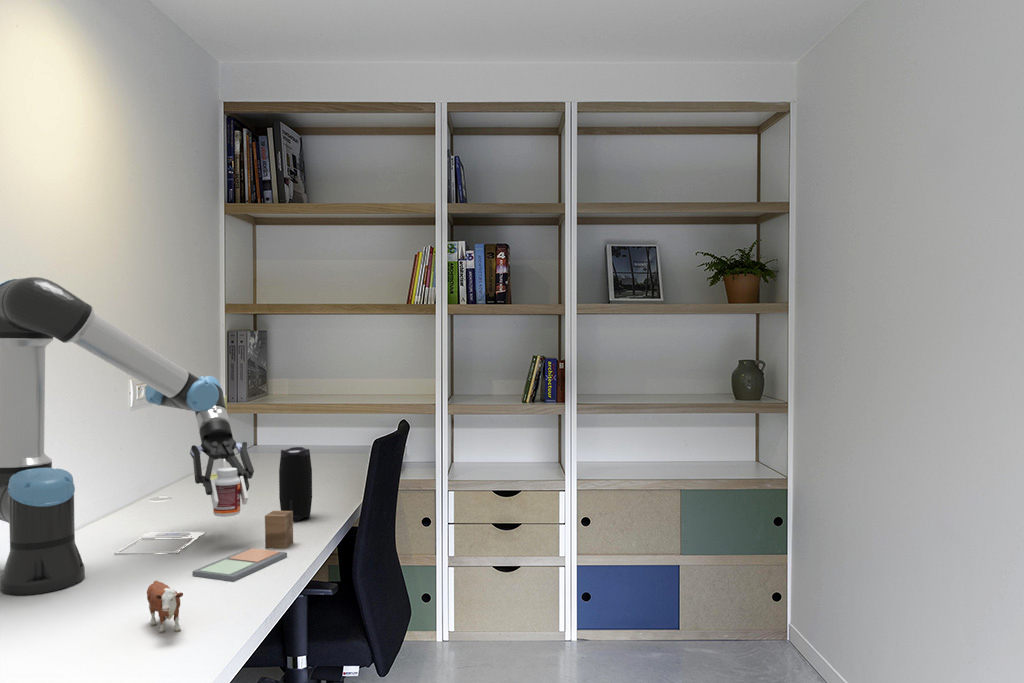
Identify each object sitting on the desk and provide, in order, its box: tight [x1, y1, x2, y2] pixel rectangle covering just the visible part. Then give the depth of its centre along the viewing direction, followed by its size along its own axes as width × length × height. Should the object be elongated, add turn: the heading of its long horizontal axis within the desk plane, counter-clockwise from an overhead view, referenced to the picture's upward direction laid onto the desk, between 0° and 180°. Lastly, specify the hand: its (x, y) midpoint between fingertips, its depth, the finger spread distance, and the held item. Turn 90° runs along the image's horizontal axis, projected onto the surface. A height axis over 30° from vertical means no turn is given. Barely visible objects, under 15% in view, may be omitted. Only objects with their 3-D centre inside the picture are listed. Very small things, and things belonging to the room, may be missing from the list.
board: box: [191, 547, 288, 582], centre depth 170 cm, size 18×11×1 cm, turn 160°
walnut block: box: [264, 510, 294, 550], centre depth 185 cm, size 5×5×8 cm
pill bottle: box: [212, 467, 241, 518], centre depth 184 cm, size 6×6×11 cm
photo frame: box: [113, 530, 206, 556], centre depth 188 cm, size 15×1×18 cm
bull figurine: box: [146, 580, 184, 634], centre depth 135 cm, size 4×13×8 cm, turn 36°
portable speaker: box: [278, 446, 313, 523], centre depth 211 cm, size 9×9×20 cm
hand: (230, 502), depth 181 cm, fingers closed on pill bottle, 6 cm apart
